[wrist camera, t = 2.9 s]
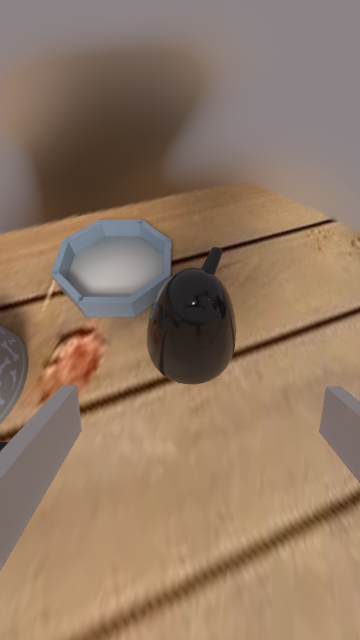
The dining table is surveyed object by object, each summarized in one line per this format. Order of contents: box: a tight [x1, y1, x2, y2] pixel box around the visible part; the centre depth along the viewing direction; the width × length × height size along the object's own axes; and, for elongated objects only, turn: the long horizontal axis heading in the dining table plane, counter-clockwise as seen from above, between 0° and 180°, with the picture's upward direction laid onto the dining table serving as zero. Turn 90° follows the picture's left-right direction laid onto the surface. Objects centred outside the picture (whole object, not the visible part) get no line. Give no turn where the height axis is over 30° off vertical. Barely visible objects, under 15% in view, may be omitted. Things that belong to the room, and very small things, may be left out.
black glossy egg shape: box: [147, 247, 236, 384], centre depth 27 cm, size 10×10×15 cm
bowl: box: [51, 219, 172, 317], centre depth 39 cm, size 17×17×4 cm
